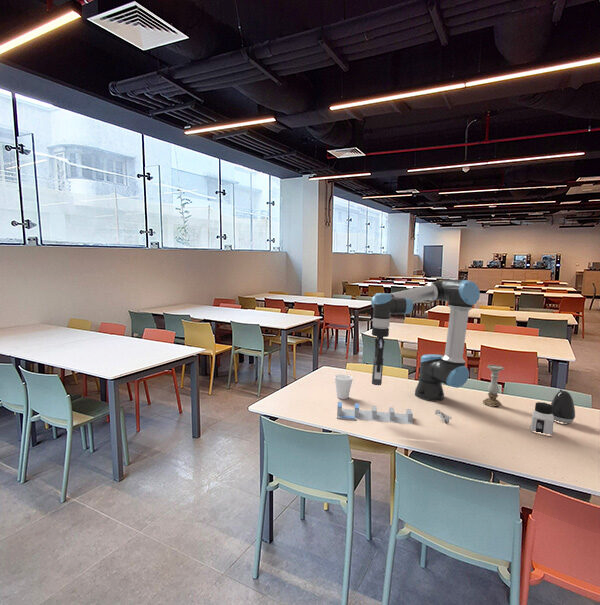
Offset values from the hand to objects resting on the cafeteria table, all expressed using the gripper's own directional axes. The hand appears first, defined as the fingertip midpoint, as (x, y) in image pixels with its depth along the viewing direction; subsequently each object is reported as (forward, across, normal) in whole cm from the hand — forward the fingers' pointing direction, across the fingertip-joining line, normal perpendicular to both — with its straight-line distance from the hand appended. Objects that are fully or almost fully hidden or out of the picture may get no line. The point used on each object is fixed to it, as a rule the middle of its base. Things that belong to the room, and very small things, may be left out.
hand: (377, 377), depth 175 cm
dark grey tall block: (+3, 0, 0) cm, 3 cm away
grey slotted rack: (+19, -1, 0) cm, 19 cm away
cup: (+20, -24, -15) cm, 34 cm away
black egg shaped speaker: (+18, -13, +88) cm, 91 cm away
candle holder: (+19, -30, +64) cm, 73 cm away
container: (+19, +1, +73) cm, 75 cm away
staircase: (+20, 0, +31) cm, 37 cm away
